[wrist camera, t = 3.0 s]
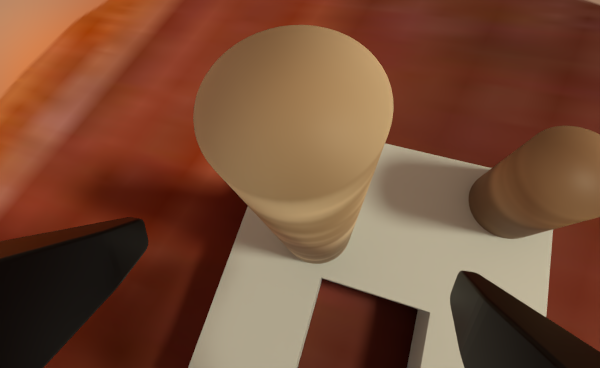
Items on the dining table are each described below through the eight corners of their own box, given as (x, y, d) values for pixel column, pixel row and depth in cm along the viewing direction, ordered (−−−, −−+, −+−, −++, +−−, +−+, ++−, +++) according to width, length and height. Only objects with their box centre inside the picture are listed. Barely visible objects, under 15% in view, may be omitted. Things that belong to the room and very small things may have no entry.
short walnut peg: (494, 250, 17) (565, 233, 12) (454, 187, 19) (503, 147, 13) (558, 221, 17) (655, 192, 12) (515, 161, 19) (586, 111, 14)
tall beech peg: (298, 275, 18) (227, 233, 5) (273, 212, 19) (172, 66, 7) (362, 247, 18) (433, 147, 6) (333, 186, 19) (340, 0, 7)
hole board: (491, 584, 15) (521, 640, 13) (176, 440, 18) (152, 463, 16) (530, 195, 20) (556, 183, 18) (284, 136, 23) (279, 119, 21)
